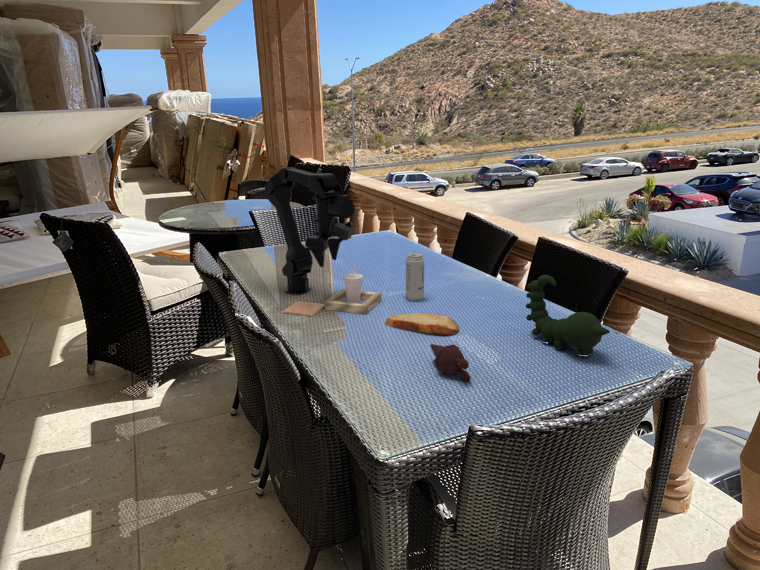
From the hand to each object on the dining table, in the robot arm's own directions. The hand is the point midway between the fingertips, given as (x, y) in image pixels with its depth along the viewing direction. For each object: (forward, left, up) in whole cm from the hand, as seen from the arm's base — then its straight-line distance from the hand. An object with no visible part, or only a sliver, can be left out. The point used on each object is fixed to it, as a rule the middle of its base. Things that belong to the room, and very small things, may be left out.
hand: (328, 263), depth 169 cm
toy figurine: (+73, -13, -14) cm, 75 cm away
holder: (+8, 0, -13) cm, 16 cm away
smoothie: (+8, 0, -13) cm, 16 cm away
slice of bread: (+34, -11, -14) cm, 39 cm away
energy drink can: (+25, +12, -13) cm, 31 cm away
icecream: (+48, -36, -13) cm, 61 cm away
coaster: (-5, -9, -13) cm, 17 cm away
